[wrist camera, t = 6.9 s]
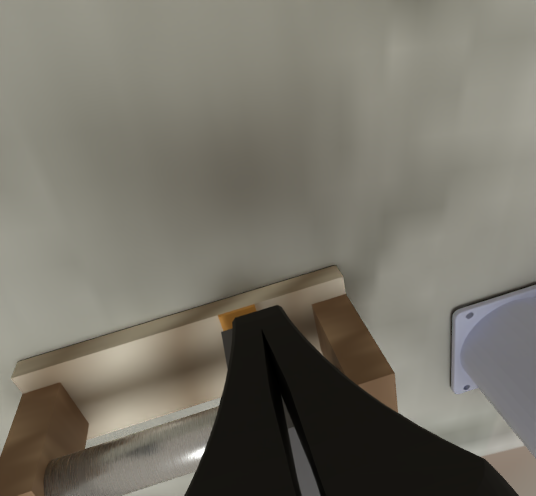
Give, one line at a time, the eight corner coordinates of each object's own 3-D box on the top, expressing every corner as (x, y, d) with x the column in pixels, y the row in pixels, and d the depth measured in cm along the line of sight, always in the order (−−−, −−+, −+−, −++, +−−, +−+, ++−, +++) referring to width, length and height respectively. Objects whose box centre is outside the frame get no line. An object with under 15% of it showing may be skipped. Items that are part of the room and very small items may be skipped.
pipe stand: (335, 265, 25) (393, 355, 18) (347, 341, 28) (401, 440, 22) (17, 361, 23) (-35, 493, 17) (68, 429, 26) (39, 561, 20)
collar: (267, 317, 22) (302, 424, 16) (290, 400, 25) (326, 510, 20) (220, 331, 22) (240, 444, 16) (250, 412, 25) (275, 528, 20)
